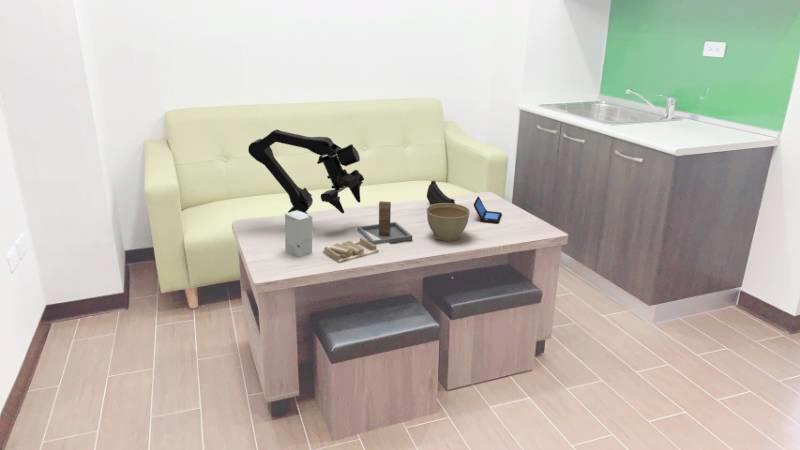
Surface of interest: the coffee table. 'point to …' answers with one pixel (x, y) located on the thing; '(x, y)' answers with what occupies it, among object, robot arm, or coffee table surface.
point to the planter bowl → (447, 220)
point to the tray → (395, 236)
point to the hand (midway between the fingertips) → (351, 207)
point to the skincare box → (298, 233)
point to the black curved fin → (437, 195)
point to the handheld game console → (486, 213)
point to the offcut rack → (357, 250)
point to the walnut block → (384, 218)
